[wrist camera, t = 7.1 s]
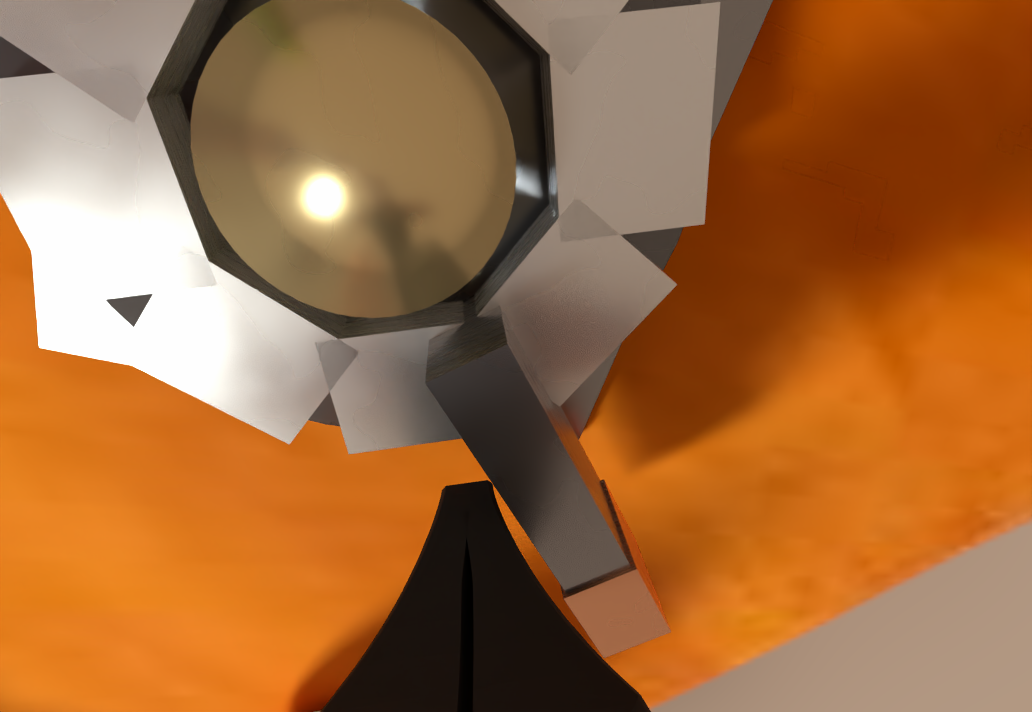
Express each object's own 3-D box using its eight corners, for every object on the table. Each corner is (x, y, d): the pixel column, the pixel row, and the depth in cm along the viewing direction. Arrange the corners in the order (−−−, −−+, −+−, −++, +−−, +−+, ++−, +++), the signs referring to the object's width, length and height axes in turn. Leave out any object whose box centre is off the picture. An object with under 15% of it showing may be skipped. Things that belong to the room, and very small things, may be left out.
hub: (54, 338, 14) (-110, 452, 10) (0, -513, 8) (-476, -1122, 4) (570, 441, 17) (608, 558, 13) (809, -108, 11) (1014, -205, 7)
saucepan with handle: (597, 571, 17) (625, 667, 14) (-88, 209, 10) (-281, 261, 7) (945, 268, 13) (1072, 321, 10) (220, -618, 6) (55, -1105, 4)
